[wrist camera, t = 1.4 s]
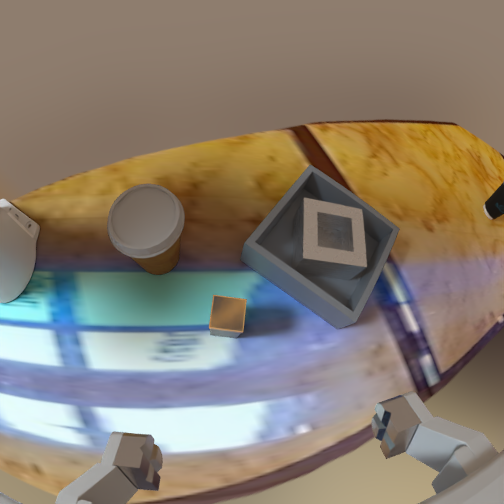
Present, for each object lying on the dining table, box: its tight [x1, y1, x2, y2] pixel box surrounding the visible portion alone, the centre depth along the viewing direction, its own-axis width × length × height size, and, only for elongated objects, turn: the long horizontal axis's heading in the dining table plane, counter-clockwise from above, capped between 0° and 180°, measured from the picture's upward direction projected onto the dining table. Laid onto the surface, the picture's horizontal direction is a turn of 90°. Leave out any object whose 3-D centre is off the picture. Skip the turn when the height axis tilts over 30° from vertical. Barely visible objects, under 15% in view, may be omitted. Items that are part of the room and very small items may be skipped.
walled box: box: [240, 165, 399, 329], centre depth 43 cm, size 18×18×6 cm
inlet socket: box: [291, 198, 367, 280], centre depth 42 cm, size 9×9×6 cm
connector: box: [209, 295, 247, 338], centre depth 35 cm, size 4×4×8 cm
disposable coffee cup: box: [107, 184, 185, 275], centre depth 36 cm, size 10×10×12 cm
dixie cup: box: [483, 182, 504, 220], centre depth 53 cm, size 8×8×11 cm
